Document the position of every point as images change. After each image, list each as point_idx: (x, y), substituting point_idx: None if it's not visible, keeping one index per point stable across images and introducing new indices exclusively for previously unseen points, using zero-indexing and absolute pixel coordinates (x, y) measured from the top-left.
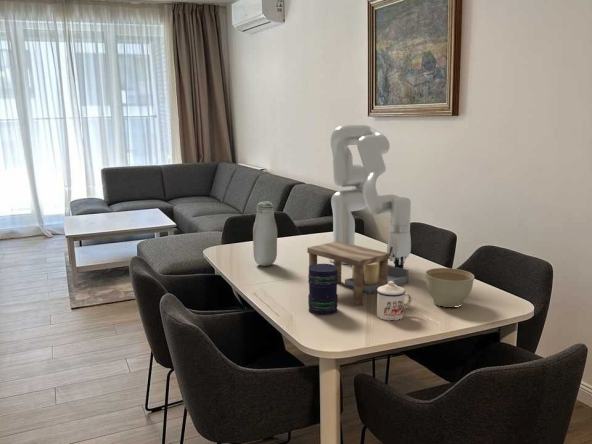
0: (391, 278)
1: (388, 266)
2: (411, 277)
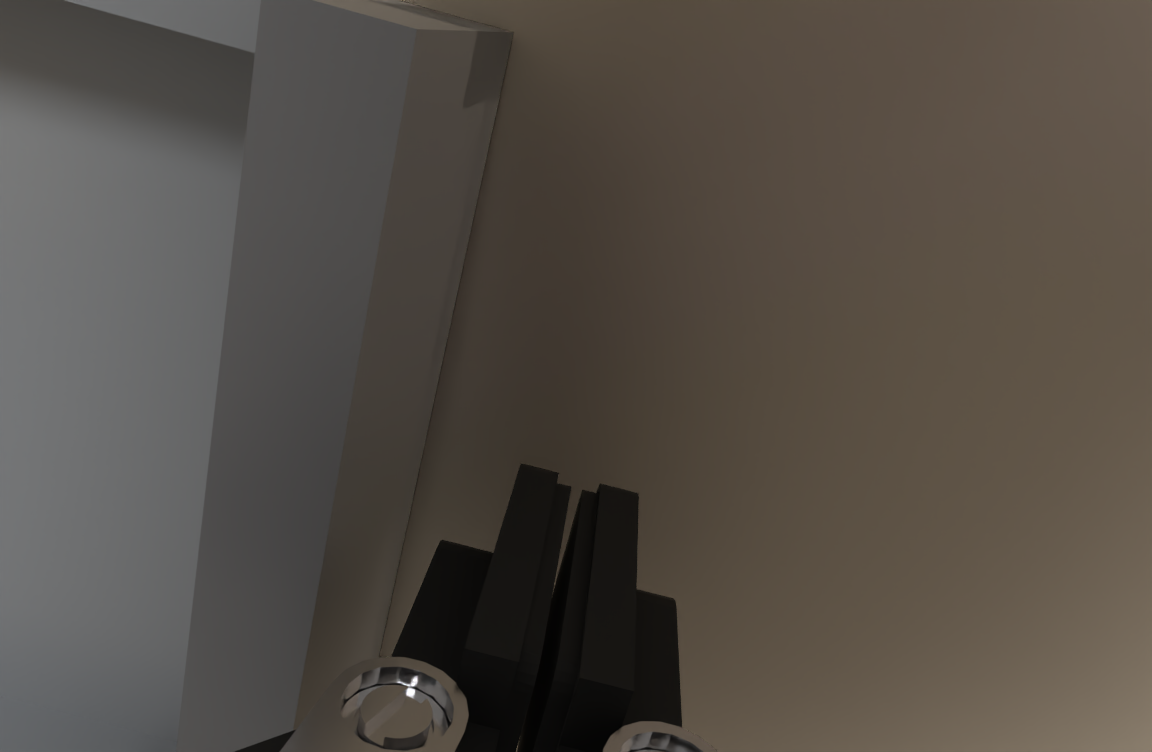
0: (156, 501)
1: (223, 435)
2: (747, 727)
